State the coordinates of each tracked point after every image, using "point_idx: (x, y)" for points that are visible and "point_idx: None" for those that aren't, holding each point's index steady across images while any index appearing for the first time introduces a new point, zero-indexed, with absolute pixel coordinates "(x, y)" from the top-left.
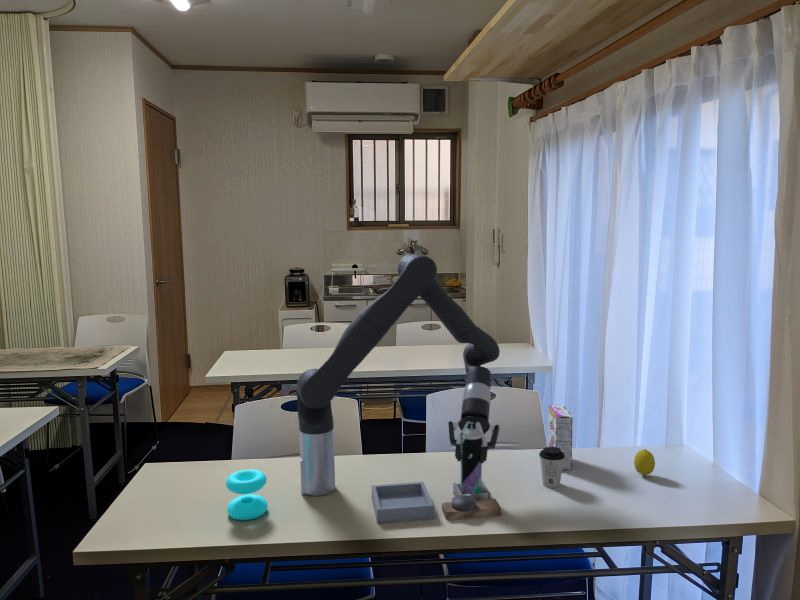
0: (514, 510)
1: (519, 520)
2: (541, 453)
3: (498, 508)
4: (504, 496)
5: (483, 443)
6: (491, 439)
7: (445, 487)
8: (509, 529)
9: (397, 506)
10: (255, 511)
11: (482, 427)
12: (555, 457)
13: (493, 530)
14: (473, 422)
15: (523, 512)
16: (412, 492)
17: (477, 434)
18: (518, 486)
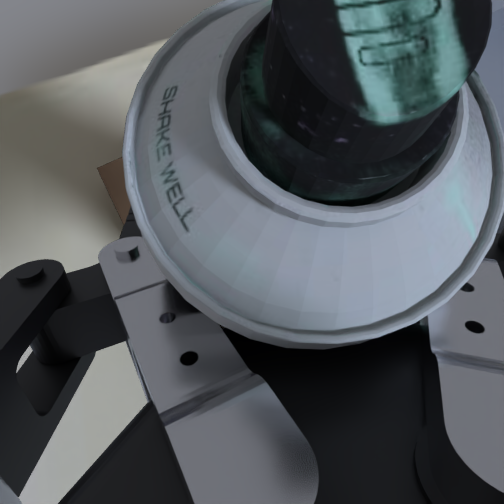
0: (58, 238)
1: (33, 163)
2: None
3: (109, 164)
4: (113, 358)
5: (145, 253)
6: (24, 304)
7: None
8: (67, 90)
9: (492, 12)
10: None
11: (153, 479)
12: None
13: (122, 69)
14: (338, 89)
15: (20, 231)
16: (500, 229)
17: (178, 34)
18: (55, 498)
